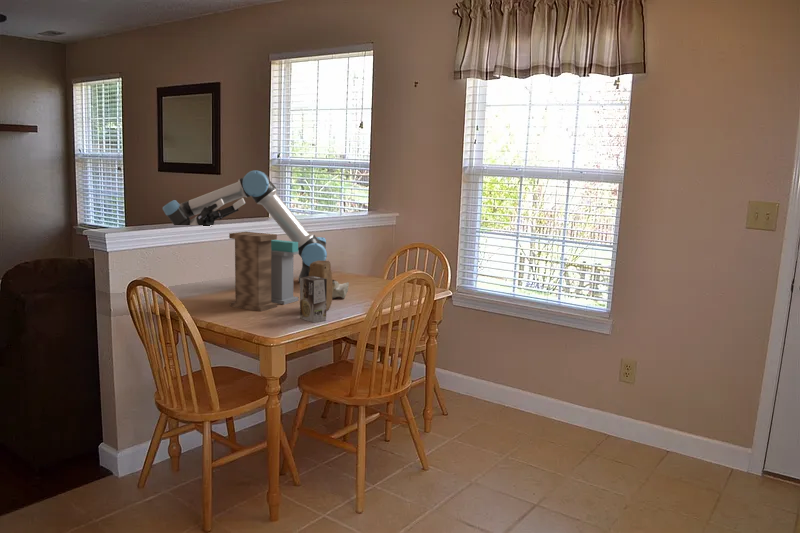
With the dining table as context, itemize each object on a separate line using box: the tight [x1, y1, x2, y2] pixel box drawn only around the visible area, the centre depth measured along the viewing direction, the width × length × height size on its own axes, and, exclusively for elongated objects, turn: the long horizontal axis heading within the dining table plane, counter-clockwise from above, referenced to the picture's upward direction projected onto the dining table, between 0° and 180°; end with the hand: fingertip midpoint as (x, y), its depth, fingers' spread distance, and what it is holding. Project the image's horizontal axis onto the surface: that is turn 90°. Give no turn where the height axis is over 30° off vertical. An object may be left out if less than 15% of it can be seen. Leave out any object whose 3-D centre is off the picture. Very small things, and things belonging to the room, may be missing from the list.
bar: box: [271, 239, 298, 252], centre depth 266 cm, size 28×4×4 cm, turn 63°
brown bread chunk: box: [309, 260, 333, 312], centre depth 251 cm, size 11×8×20 cm
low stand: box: [271, 250, 299, 305], centre depth 266 cm, size 16×10×22 cm, turn 63°
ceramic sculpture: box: [332, 279, 350, 300], centre depth 275 cm, size 11×9×15 cm
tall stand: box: [228, 231, 278, 312], centre depth 252 cm, size 16×10×30 cm, turn 63°
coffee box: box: [299, 276, 327, 323], centre depth 235 cm, size 9×6×16 cm
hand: (233, 200), depth 272 cm, fingers open, 13 cm apart
